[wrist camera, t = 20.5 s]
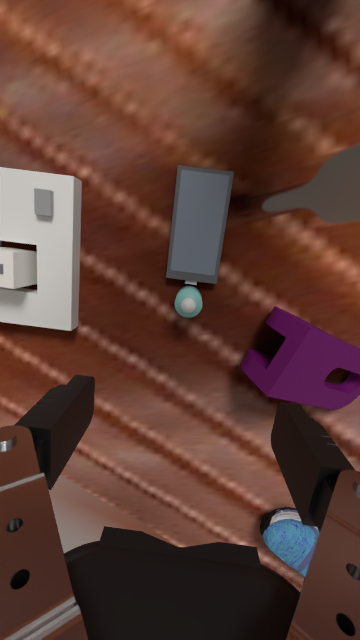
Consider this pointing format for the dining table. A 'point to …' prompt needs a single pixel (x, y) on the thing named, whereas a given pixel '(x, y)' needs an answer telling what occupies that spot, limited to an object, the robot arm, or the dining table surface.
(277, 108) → the dining table surface
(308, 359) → the mounting bracket
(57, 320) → the board
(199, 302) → the teal rounded cylinder
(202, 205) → the phone
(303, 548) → the athletic shoe
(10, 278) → the block
